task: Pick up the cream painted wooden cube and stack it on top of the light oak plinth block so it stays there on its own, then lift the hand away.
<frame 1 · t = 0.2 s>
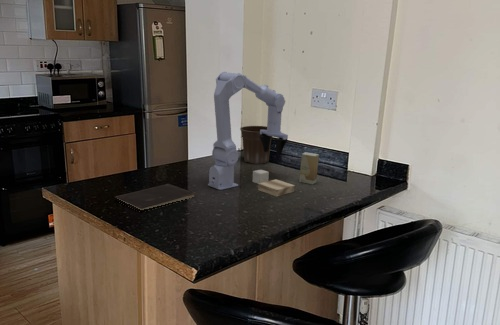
hand: (272, 153, 191), 10 cm above the worktop, fingers open, 7 cm apart
oak plinth: (276, 191, 173), on the worktop
hardcover book: (155, 201, 159), on the worktop
skincare box: (308, 182, 186), on the worktop
cream cube: (260, 182, 184), on the worktop
plant pot: (255, 161, 218), on the worktop
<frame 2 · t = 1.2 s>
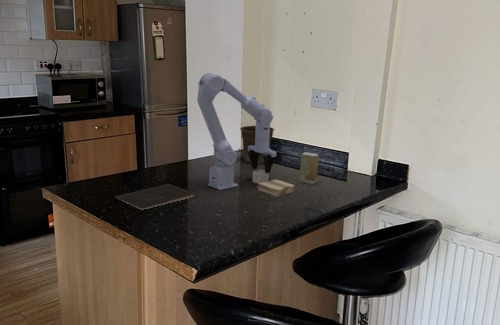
hand: (261, 170, 183), 5 cm above the worktop, fingers open, 7 cm apart
nothing on the worktop moved.
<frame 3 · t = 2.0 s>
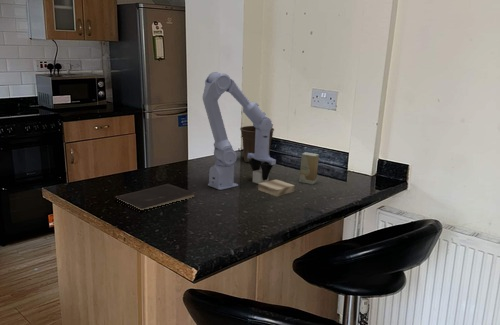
hand: (260, 178, 183), 2 cm above the worktop, fingers closed on cream cube, 5 cm apart
cream cube: (260, 182, 184), on the worktop, touching gripper
everything else where it was.
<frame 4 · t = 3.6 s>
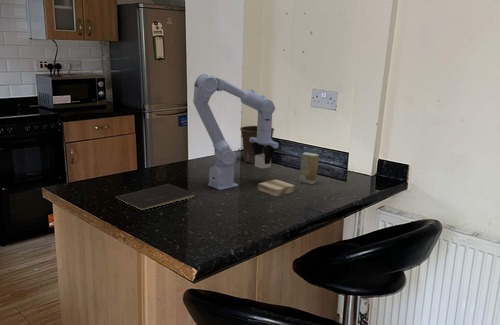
hand: (262, 162, 181), 9 cm above the worktop, fingers closed on cream cube, 5 cm apart
cream cube: (262, 166, 181), point 7 cm above the worktop, touching gripper
everything else where it was.
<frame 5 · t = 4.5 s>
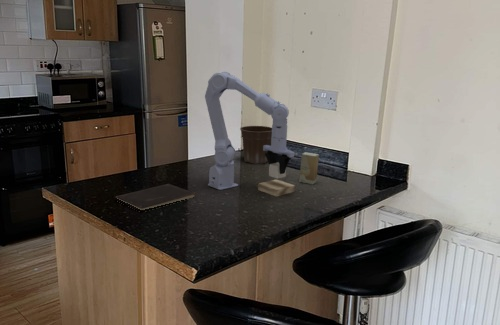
hand: (277, 172, 171), 7 cm above the worktop, fingers closed on cream cube, 5 cm apart
cream cube: (277, 176, 172), point 6 cm above the worktop, touching gripper
everything else where it was.
when the fingers open (6 cm above the worktop, at t = 5.2 s): cream cube drops 1 cm, point 3 cm above the worktop.
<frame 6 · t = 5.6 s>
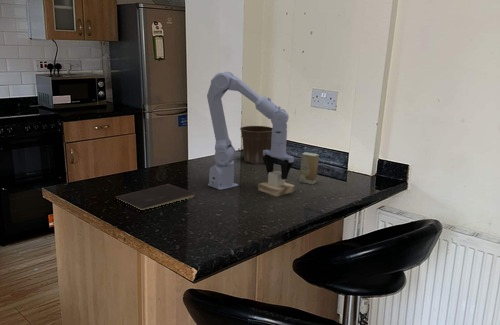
hand: (277, 176, 172), 6 cm above the worktop, fingers open, 7 cm apart
cream cube: (276, 184, 173), point 3 cm above the worktop
everything else where it was.
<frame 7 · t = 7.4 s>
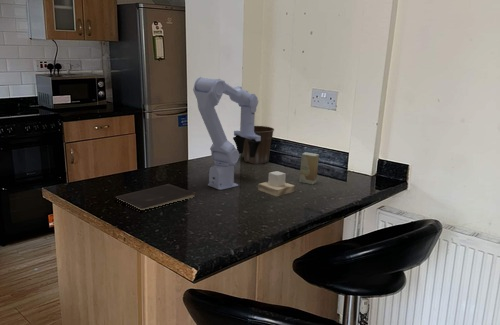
hand: (246, 155, 186), 10 cm above the worktop, fingers open, 7 cm apart
oak plinth: (276, 192, 173), on the worktop, touching cream cube
cream cube: (276, 184, 173), point 2 cm above the worktop, touching oak plinth
everything else where it was.
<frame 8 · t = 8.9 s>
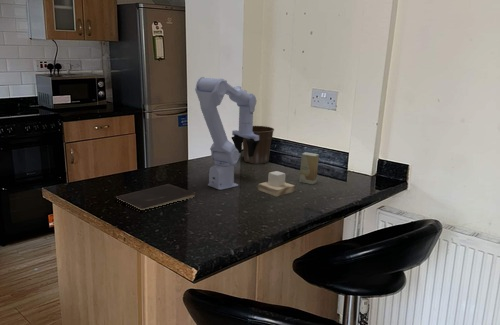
hand: (244, 154, 187), 10 cm above the worktop, fingers open, 7 cm apart
nothing on the worktop moved.
at the end: cream cube 0.1 cm off-centre on the oak plinth, point 3.0 cm above the oak plinth's base; cream cube tilted 1°; the gripper is holding nothing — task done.
